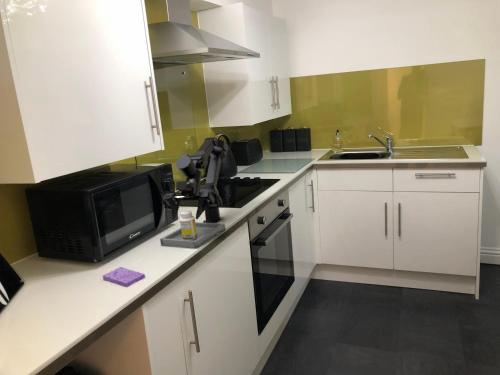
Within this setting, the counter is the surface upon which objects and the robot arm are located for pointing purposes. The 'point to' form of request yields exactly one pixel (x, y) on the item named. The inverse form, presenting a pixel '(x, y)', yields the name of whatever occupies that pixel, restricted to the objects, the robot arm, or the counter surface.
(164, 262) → the counter surface
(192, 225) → the supplement bottle
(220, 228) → the tray
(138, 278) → the sponges
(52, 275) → the counter surface
